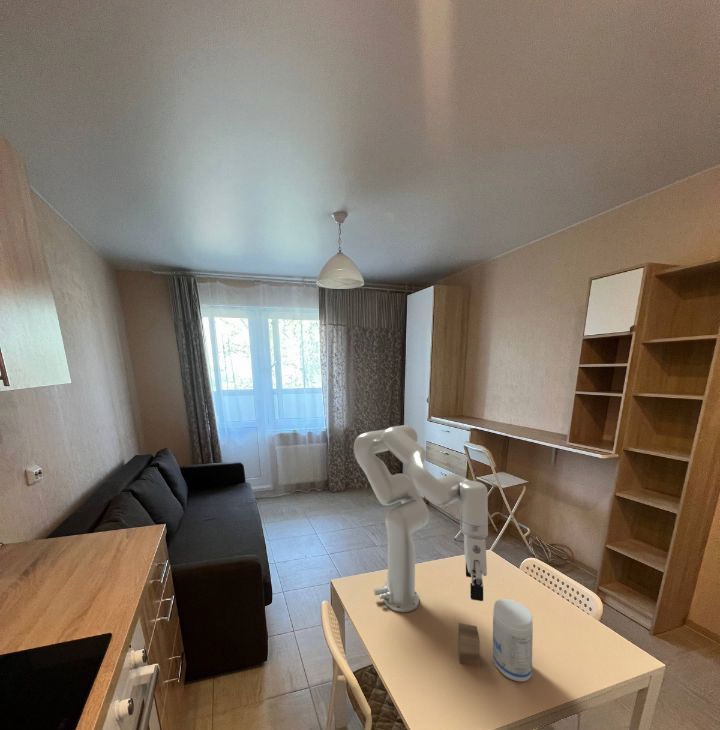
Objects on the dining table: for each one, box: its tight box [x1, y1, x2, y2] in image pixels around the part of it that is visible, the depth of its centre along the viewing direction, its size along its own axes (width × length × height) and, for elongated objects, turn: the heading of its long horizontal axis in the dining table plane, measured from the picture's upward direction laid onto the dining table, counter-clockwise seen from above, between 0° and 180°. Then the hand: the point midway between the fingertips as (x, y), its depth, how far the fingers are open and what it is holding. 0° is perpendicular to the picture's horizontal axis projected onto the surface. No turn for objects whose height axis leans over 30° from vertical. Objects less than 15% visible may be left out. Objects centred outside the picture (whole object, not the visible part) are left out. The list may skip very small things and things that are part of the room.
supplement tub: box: [492, 598, 534, 683], centre depth 82 cm, size 10×10×15 cm
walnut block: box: [457, 622, 481, 669], centre depth 85 cm, size 5×5×7 cm
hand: (474, 587), depth 87 cm, fingers open, 9 cm apart
